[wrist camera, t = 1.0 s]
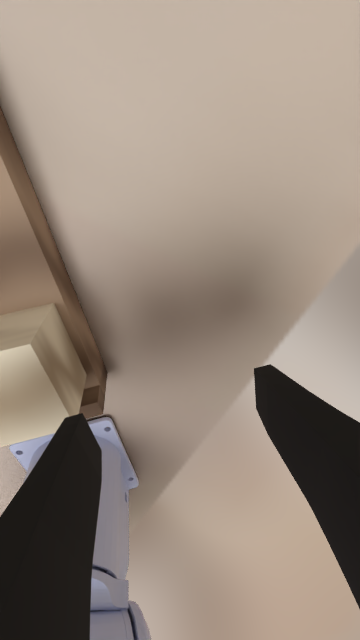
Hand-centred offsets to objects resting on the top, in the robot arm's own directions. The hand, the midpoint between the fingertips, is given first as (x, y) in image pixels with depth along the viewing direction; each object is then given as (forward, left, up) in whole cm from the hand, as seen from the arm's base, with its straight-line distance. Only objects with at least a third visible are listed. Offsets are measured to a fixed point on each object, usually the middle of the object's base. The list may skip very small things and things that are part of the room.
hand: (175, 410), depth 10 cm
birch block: (0, +8, -7) cm, 10 cm away
